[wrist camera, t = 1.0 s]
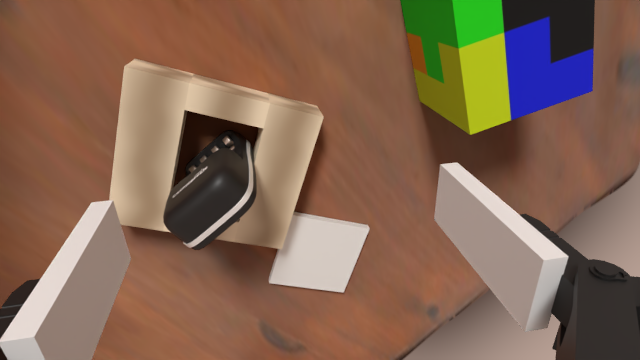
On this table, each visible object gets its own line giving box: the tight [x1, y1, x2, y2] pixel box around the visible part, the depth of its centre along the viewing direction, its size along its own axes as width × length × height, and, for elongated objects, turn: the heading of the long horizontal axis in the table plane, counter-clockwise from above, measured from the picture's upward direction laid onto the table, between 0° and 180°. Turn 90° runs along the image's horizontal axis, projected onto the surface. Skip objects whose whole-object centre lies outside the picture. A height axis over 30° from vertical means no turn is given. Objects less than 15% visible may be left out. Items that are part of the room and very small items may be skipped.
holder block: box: [109, 59, 324, 249], centre depth 37 cm, size 16×14×4 cm
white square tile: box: [269, 212, 369, 293], centre depth 45 cm, size 9×9×1 cm
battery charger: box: [163, 130, 257, 250], centre depth 33 cm, size 7×4×11 cm, turn 129°
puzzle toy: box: [400, 0, 595, 135], centre depth 33 cm, size 10×10×10 cm
